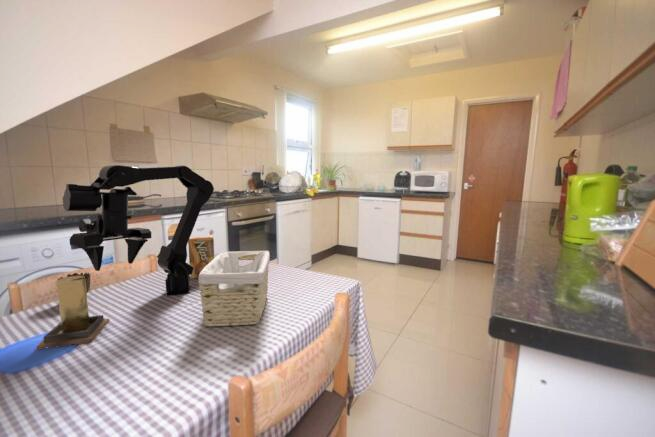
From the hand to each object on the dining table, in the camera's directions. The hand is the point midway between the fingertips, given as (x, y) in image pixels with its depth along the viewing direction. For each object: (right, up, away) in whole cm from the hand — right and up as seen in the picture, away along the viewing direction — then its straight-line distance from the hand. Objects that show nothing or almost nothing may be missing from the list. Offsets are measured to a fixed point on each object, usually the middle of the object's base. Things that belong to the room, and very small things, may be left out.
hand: (114, 266), depth 79 cm
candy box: (+11, -9, +31) cm, 34 cm away
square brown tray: (-1, -15, -11) cm, 18 cm away
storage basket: (+34, -13, +5) cm, 37 cm away
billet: (-1, -14, -11) cm, 17 cm away
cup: (-17, -12, +7) cm, 22 cm away
